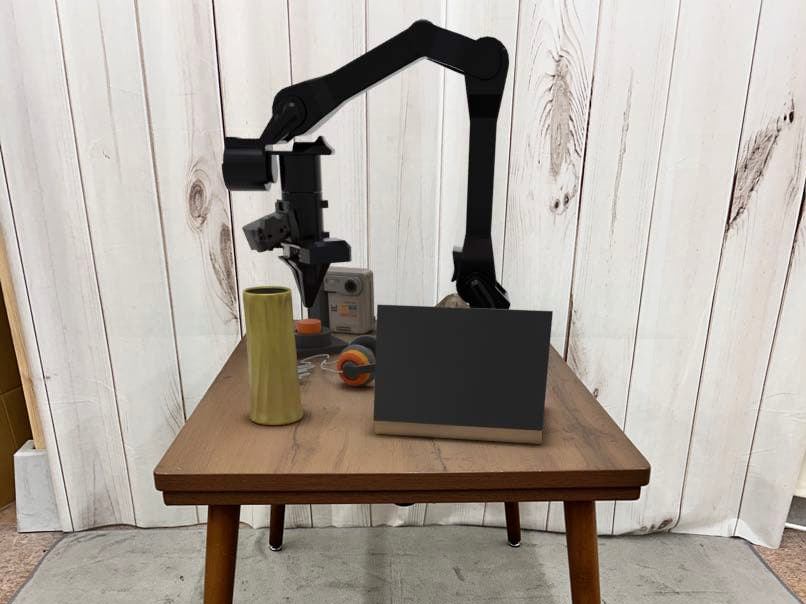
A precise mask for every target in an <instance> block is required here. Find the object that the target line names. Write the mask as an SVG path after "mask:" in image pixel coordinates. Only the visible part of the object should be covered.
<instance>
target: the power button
mask: <svg viewBox="0 0 806 604" xmlns="http://www.w3.org/2000/svg"><path fill="white" fill-rule="evenodd" d="M295 323H296V327H297V333H302V334H313V333H320V332H321V321H320V320H318V319H308V318H301V319H298V320H297V321H296V322H295Z"/></svg>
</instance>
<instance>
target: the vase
mask: <svg viewBox="0 0 806 604" xmlns="http://www.w3.org/2000/svg"><path fill="white" fill-rule="evenodd" d="M242 304H243V313H244V325H245V336H246V350H247V351H246V352H247V366H248V367H247V369H248V386H249V401H250V402H249V403H250V404H249V405H250V412H249V419H250V420H251V422H254V423H256V424H258V425H264V426H284V425H289V424H293V423H297V422H298V421H300V420H301V419H302V418H303V416H304V411H303V405H302V398H301V387H300V385H301V384H300V379H299V376H298V375H299V373H298V366H299V365H298V359H297V353H296V343H295V332H294V327H295V322H294V308H293V307H294V305H293V292H292V288H290V287H287V286H281V285H261V286H260V285H259V286H252V287H247V288H244V289H243V290H242Z"/></svg>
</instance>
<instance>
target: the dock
mask: <svg viewBox="0 0 806 604" xmlns="http://www.w3.org/2000/svg"><path fill="white" fill-rule="evenodd" d="M294 332H295V343H296V353H297V360H301V359H302V360H303V359H306V358H309V357H312V356H316V355H322V354H328V355H329V356H331V355H337V354H340V353H341V352H342V351H343V350H344V349H345V348H347V347H348V346H349V344H350V342H347V341H345V340H343V339H341V338H339V337H336V336H335V335H332V331H331V329H329V328H327V327H322V326H321V332H320V333H313V334H302V333H297V326H294Z"/></svg>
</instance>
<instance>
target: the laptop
mask: <svg viewBox="0 0 806 604" xmlns="http://www.w3.org/2000/svg"><path fill="white" fill-rule="evenodd" d="M374 428H375V430H374V431H375V434H376V435H389V436H390V435H391V436H407V437H423V438H437V439H455V440H466V441H467V440H468V441H469V440H470V441H483V442H484V441H485V442H499V443H500V442H501V443H513V444H515V443H516V444H519V443H520V444H531V445H542V440H543V430H542V431H535V430H519V429H502V428H486V427H470V426H454V425H437V424H421V423H405V422H389V421H374Z"/></svg>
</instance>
